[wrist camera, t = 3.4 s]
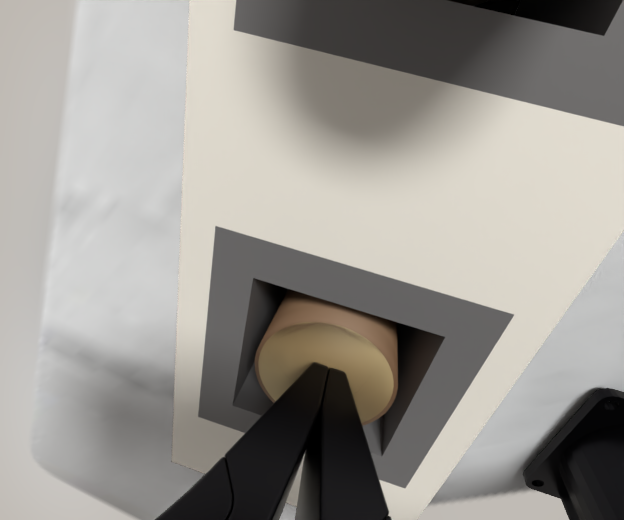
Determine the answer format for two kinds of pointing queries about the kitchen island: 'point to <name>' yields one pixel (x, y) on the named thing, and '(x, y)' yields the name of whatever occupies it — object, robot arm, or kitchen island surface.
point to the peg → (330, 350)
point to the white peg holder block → (392, 203)
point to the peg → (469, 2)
